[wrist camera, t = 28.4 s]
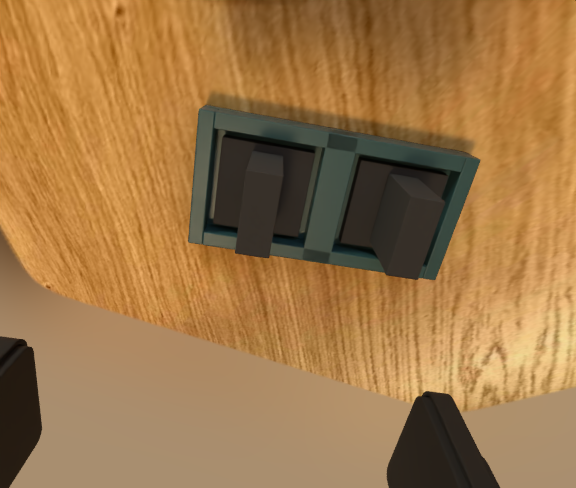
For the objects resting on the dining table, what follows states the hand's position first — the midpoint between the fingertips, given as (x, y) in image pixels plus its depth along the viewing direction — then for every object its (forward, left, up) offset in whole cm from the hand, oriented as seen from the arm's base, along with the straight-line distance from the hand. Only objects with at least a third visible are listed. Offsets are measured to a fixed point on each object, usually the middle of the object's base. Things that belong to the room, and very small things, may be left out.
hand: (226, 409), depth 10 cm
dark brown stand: (-9, 0, -20) cm, 22 cm away
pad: (0, 0, -20) cm, 20 cm away
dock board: (-5, 0, -20) cm, 21 cm away
